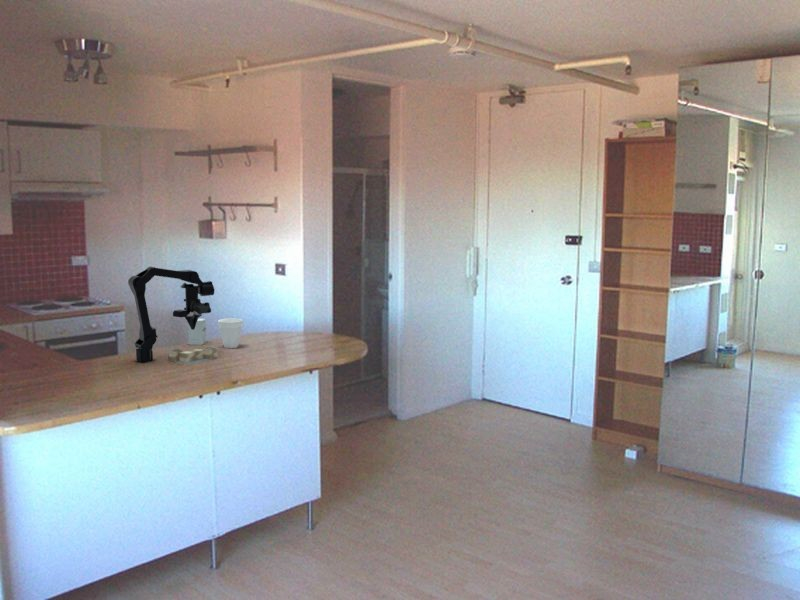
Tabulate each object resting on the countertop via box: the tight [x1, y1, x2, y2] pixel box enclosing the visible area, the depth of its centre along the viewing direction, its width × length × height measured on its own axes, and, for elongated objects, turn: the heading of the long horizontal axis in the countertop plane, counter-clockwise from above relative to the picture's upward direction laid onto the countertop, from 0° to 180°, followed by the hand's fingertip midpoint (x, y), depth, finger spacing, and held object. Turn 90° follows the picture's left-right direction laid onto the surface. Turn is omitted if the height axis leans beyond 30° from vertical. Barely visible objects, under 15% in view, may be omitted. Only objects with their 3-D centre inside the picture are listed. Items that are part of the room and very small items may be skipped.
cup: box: [217, 317, 244, 349], centre depth 367 cm, size 12×12×14 cm
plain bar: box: [179, 347, 204, 362], centre depth 337 cm, size 12×4×4 cm, turn 147°
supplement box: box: [187, 318, 207, 346], centre depth 375 cm, size 7×7×13 cm
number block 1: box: [168, 348, 184, 363], centre depth 336 cm, size 4×4×5 cm
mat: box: [172, 358, 217, 366], centre depth 338 cm, size 17×14×1 cm
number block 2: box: [202, 346, 219, 361], centre depth 340 cm, size 4×4×5 cm
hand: (192, 329), depth 347 cm, fingers closed
